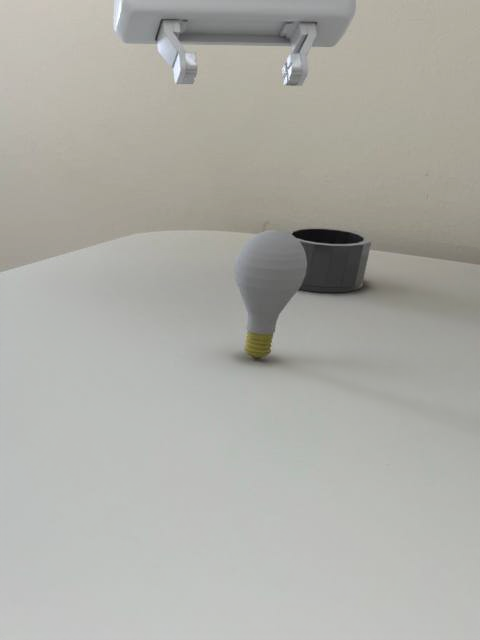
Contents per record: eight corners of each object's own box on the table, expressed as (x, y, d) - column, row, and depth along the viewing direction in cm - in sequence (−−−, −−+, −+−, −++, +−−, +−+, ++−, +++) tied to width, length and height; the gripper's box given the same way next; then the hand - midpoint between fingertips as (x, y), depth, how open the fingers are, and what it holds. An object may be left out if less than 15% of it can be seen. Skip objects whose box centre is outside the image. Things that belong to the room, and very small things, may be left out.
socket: (346, 271, 107) (355, 227, 105) (374, 293, 100) (384, 246, 97) (267, 271, 107) (274, 226, 104) (289, 292, 100) (298, 245, 97)
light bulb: (210, 351, 83) (227, 225, 78) (264, 345, 85) (285, 221, 80) (246, 372, 79) (267, 240, 74) (303, 364, 81) (327, 235, 75)
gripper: (112, -99, 81) (127, 48, 78) (352, -92, 83) (374, 52, 80) (98, -33, 87) (111, 105, 85) (322, -28, 89) (341, 108, 87)
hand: (241, 79), depth 82 cm, fingers open, 8 cm apart
